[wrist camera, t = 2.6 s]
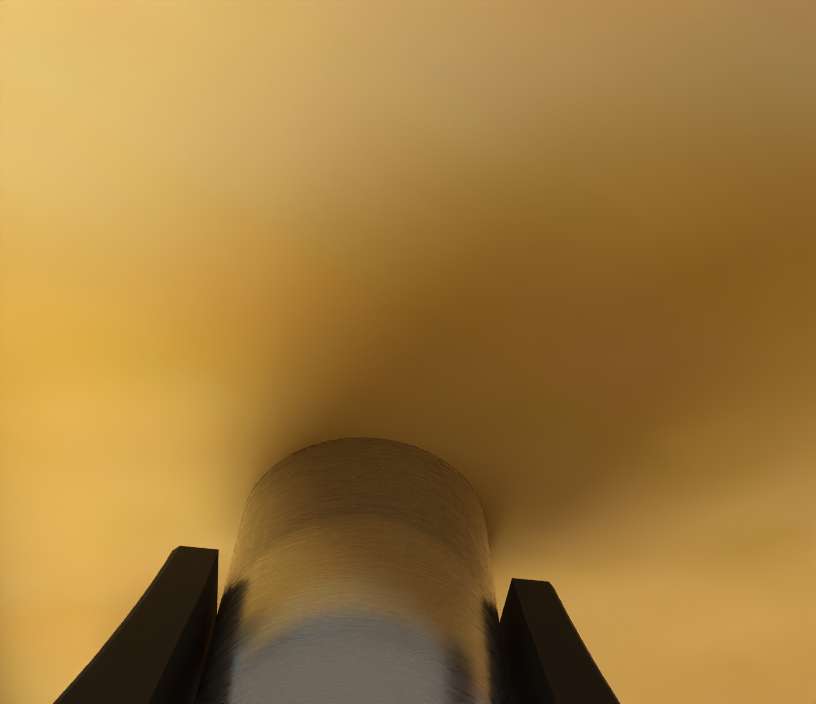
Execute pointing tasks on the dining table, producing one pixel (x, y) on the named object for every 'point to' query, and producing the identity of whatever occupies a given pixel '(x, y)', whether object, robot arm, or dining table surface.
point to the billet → (358, 586)
